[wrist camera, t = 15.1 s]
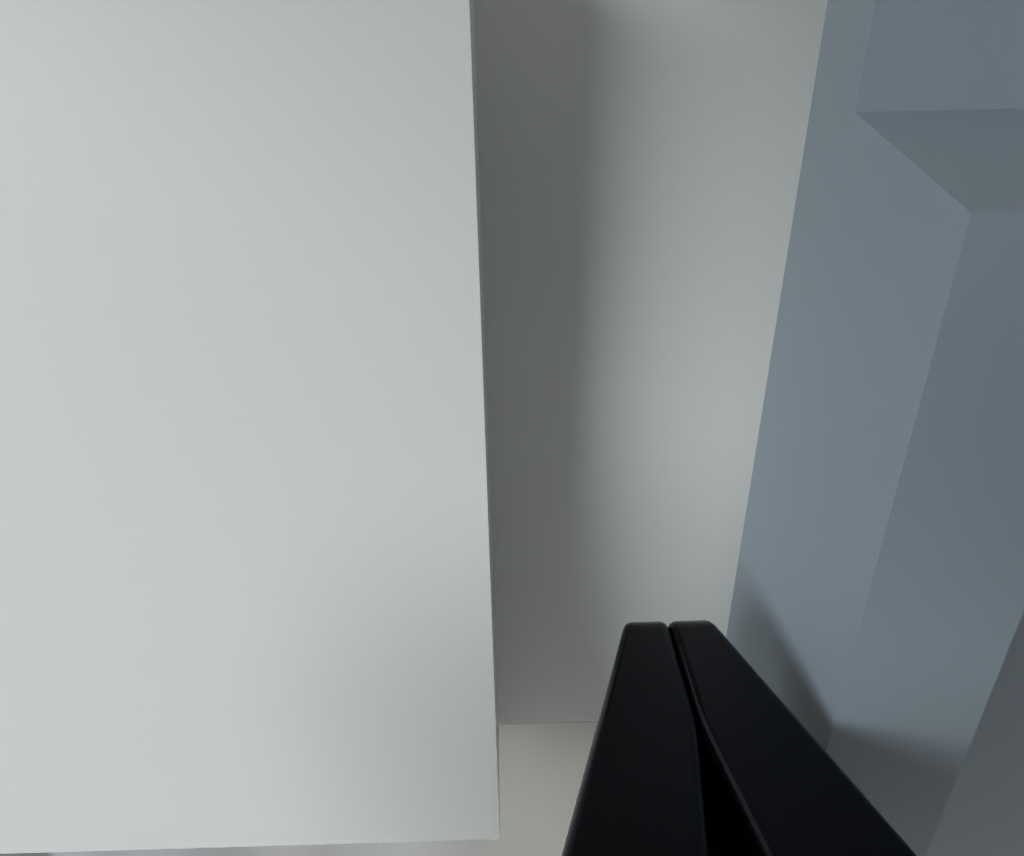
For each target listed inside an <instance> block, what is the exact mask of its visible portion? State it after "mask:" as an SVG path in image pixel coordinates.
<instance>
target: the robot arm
mask: <svg viewBox="0 0 1024 856" xmlns="http://www.w3.org/2000/svg"><path fill="white" fill-rule="evenodd" d="M562 856H917V855H916V854H915V853H914V852H913V850H912V849H911V848H910V847H909V846H908V845H907V844H906V842H905V841H904V840H903V839H902V838H901V837H900V836H899V834H898V833H897V832H896V831H895V830H894V829H893V828H892V826H891V825H890V824H889V823H888V822H887V821H886V820H885V818H884V817H883V816H882V815H881V814H880V813H879V812H878V810H877V809H876V808H875V807H874V806H873V805H872V804H871V802H870V801H869V800H868V799H867V798H866V797H865V796H864V794H863V793H862V792H861V791H860V790H859V789H858V788H857V786H856V785H855V784H854V783H853V782H852V781H851V780H850V778H849V777H848V776H847V775H846V774H845V773H844V772H843V770H842V769H841V768H840V767H839V766H838V765H837V764H836V762H835V761H834V760H833V759H832V758H831V757H830V756H829V754H828V753H827V752H826V751H825V750H824V749H823V748H822V746H821V745H820V744H819V743H818V742H817V741H816V740H815V739H814V737H813V736H812V735H811V734H810V733H809V732H808V731H807V729H806V728H805V727H804V726H803V725H802V724H801V723H800V721H799V720H798V719H797V718H796V717H795V716H794V715H793V713H792V712H791V711H790V710H789V709H788V708H787V707H786V705H785V704H784V703H783V702H782V701H781V700H780V699H779V697H778V696H777V695H776V694H775V693H774V692H773V691H772V689H771V688H770V687H769V686H768V685H767V684H766V683H765V681H764V680H763V679H762V678H761V677H760V676H759V675H758V673H757V672H756V671H755V670H754V669H753V668H752V667H751V665H750V664H749V663H748V662H747V661H746V660H745V659H744V657H743V656H742V655H741V654H740V653H739V652H738V651H737V649H736V648H735V647H734V646H733V645H732V644H731V643H730V641H729V640H728V639H727V638H726V637H725V636H724V635H723V633H722V632H721V631H720V630H719V629H718V628H717V627H716V626H715V625H714V624H713V623H712V622H710V621H707V620H693V621H674V622H672V623H670V624H669V626H667V625H666V624H665V623H664V622H660V621H655V622H630V623H627V624H626V625H625V626H624V629H623V632H622V635H621V639H620V643H619V646H618V650H617V654H616V657H615V661H614V665H613V668H612V672H611V676H610V680H609V683H608V687H607V691H606V694H605V698H604V702H603V705H602V709H601V713H600V716H599V720H598V724H597V728H596V731H595V735H594V739H593V742H592V746H591V750H590V753H589V757H588V761H587V764H586V768H585V772H584V776H583V779H582V783H581V787H580V790H579V794H578V798H577V801H576V805H575V809H574V812H573V816H572V820H571V824H570V827H569V831H568V835H567V838H566V842H565V846H564V849H563V853H562Z"/></svg>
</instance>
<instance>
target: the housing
mask: <svg viewBox="0 0 1024 856" xmlns="http://www.w3.org/2000/svg"><path fill="white" fill-rule="evenodd" d="M827 2H828V0H0V854H3V853H4V854H5V853H40V852H75V851H110V850H145V849H180V848H215V847H249V846H284V845H319V844H354V843H389V842H424V841H459V840H494V839H500V807H499V727H498V724H527V723H563V722H598V720H599V716H600V713H601V709H602V705H603V702H604V698H605V694H606V691H607V687H608V683H609V680H610V676H611V672H612V668H613V665H614V661H615V657H616V654H617V650H618V646H619V643H620V639H621V635H622V632H623V629H624V626H625V625H626V624H627V623H630V622H655V621H660V622H664V623H665V624H666V625H667V626H669V624H670V623H672V622H674V621H693V620H707V621H710V622H712V623H713V624H714V625H715V626H716V627H717V628H718V629H719V630H720V631H721V632H722V633H723V635H724V636H725V637H726V634H727V628H728V622H729V615H730V609H731V603H732V597H733V590H734V584H735V578H736V572H737V565H738V559H739V553H740V547H741V540H742V534H743V528H744V522H745V515H746V509H747V503H748V496H749V490H750V484H751V478H752V471H753V465H754V459H755V453H756V446H757V440H758V434H759V428H760V421H761V415H762V409H763V403H764V396H765V390H766V384H767V378H768V371H769V365H770V359H771V353H772V346H773V340H774V334H775V327H776V321H777V315H778V309H779V302H780V296H781V290H782V284H783V277H784V271H785V265H786V259H787V252H788V246H789V240H790V234H791V227H792V221H793V215H794V209H795V202H796V196H797V190H798V184H799V177H800V171H801V165H802V158H803V152H804V146H805V140H806V133H807V127H808V121H809V115H810V108H811V102H812V96H813V90H814V83H815V77H816V71H817V65H818V58H819V52H820V46H821V40H822V33H823V27H824V21H825V15H826V8H827Z"/></svg>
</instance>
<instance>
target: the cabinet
mask: <svg viewBox="0 0 1024 856" xmlns="http://www.w3.org/2000/svg"><path fill="white" fill-rule="evenodd" d="M726 638H727V639H728V640H729V641H730V643H731V644H732V645H733V646H734V647H735V648H736V649H737V651H738V652H739V653H740V654H741V655H742V656H743V657H744V659H745V660H746V661H747V662H748V663H749V664H750V665H751V667H752V668H753V669H754V670H755V671H756V672H757V673H758V675H759V676H760V677H761V678H762V679H763V680H764V681H765V683H766V684H767V685H768V686H769V687H770V688H771V689H772V691H773V692H774V693H775V694H776V695H777V696H778V697H779V699H780V700H781V701H782V702H783V703H784V704H785V705H786V707H787V708H788V709H789V710H790V711H791V712H792V713H793V715H794V716H795V717H796V718H797V719H798V720H799V721H800V723H801V724H802V725H803V726H804V727H805V728H806V729H807V731H808V732H809V733H810V734H811V735H812V736H813V737H814V739H815V740H816V741H817V742H818V743H819V744H820V745H821V746H822V748H823V749H824V750H825V751H826V752H827V753H828V754H829V756H830V757H831V758H832V759H833V760H834V761H835V762H836V764H837V765H838V766H839V767H840V768H841V769H842V770H843V772H844V773H845V774H846V775H847V776H848V777H849V778H850V780H851V781H852V782H853V783H854V784H855V785H856V786H857V788H858V789H859V790H860V791H861V792H862V793H863V794H864V796H865V797H866V798H867V799H868V800H869V801H870V802H871V804H872V805H873V806H874V807H875V808H876V809H877V810H878V812H879V813H880V814H881V815H882V816H883V817H884V818H885V820H886V821H887V822H888V823H889V824H890V825H891V826H892V828H893V829H894V830H895V831H896V832H897V833H898V834H899V836H900V837H901V838H902V839H903V840H904V841H905V842H906V844H907V845H908V846H909V847H910V848H911V849H912V850H913V852H914V853H915V854H916V855H917V856H1024V0H828V2H827V8H826V15H825V21H824V27H823V33H822V40H821V46H820V52H819V58H818V65H817V71H816V77H815V83H814V90H813V96H812V102H811V108H810V115H809V121H808V127H807V133H806V140H805V146H804V152H803V158H802V165H801V171H800V177H799V184H798V190H797V196H796V202H795V209H794V215H793V221H792V227H791V234H790V240H789V246H788V252H787V259H786V265H785V271H784V277H783V284H782V290H781V296H780V302H779V309H778V315H777V321H776V327H775V334H774V340H773V346H772V353H771V359H770V365H769V371H768V378H767V384H766V390H765V396H764V403H763V409H762V415H761V421H760V428H759V434H758V440H757V446H756V453H755V459H754V465H753V471H752V478H751V484H750V490H749V496H748V503H747V509H746V515H745V522H744V528H743V534H742V540H741V547H740V553H739V559H738V565H737V572H736V578H735V584H734V590H733V597H732V603H731V609H730V615H729V622H728V628H727V634H726Z"/></svg>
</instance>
